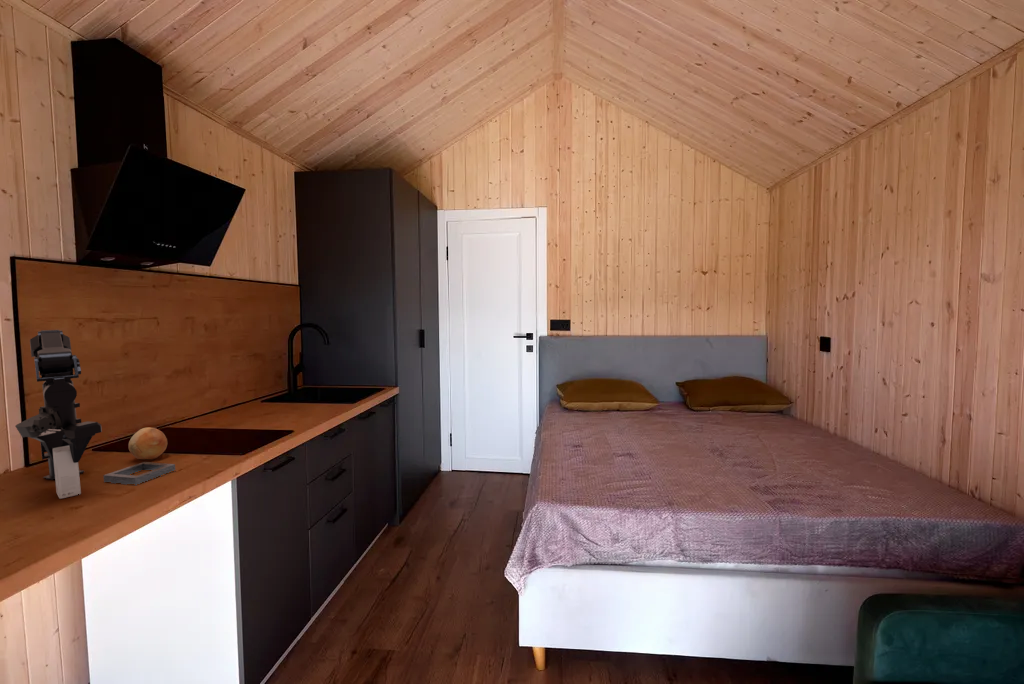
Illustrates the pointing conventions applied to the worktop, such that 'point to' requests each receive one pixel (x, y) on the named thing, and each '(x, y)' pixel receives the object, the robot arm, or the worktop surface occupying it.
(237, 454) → the worktop surface
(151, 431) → the onion
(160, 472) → the silver metal square frame
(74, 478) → the skincare box
